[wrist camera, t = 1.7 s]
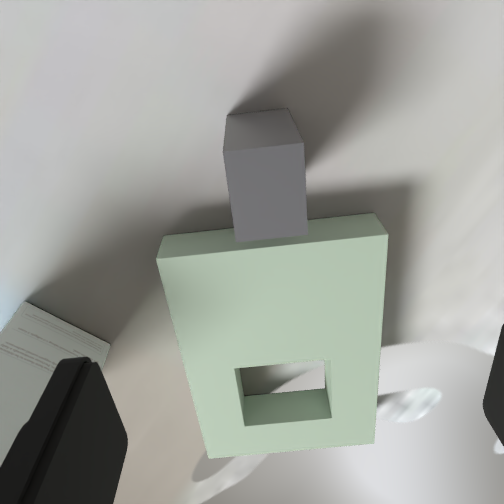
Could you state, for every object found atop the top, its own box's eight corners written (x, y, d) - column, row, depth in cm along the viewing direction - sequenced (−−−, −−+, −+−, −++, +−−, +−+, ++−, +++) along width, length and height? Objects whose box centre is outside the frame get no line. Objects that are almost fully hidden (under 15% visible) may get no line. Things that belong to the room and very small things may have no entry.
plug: (226, 115, 24) (222, 151, 18) (287, 108, 24) (303, 142, 18) (236, 188, 26) (235, 242, 20) (292, 182, 26) (307, 234, 20)
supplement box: (-16, 356, 33) (-142, 530, 22) (25, 297, 30) (-96, 462, 19) (70, 396, 35) (-5, 569, 24) (115, 344, 33) (54, 514, 22)
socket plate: (163, 235, 28) (156, 259, 25) (374, 212, 27) (388, 234, 25) (210, 427, 38) (208, 458, 35) (364, 413, 38) (374, 443, 35)
